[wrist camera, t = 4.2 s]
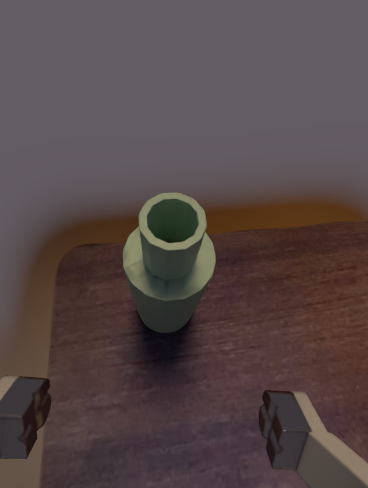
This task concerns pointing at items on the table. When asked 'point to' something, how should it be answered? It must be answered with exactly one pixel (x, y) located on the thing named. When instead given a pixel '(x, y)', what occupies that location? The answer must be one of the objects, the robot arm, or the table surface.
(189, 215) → the bottle
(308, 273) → the table surface
